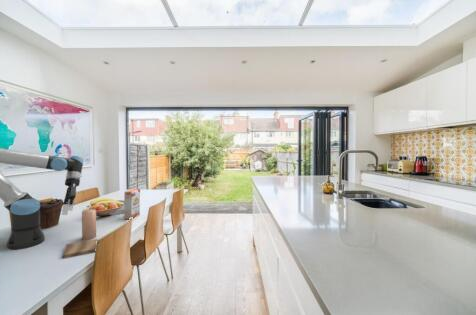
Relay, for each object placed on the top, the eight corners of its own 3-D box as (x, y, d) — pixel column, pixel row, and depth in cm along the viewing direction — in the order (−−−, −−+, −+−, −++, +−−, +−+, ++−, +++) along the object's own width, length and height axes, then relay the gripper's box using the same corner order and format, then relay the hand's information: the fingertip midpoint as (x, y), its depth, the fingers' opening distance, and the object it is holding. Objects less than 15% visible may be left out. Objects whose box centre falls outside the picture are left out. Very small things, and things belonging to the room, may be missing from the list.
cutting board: (62, 258, 108) (62, 255, 108) (66, 247, 119) (66, 244, 119) (97, 251, 115) (97, 248, 115) (97, 241, 127) (97, 239, 127)
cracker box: (131, 219, 166) (131, 191, 165) (123, 219, 166) (123, 191, 165) (140, 214, 180) (140, 188, 179) (133, 214, 180) (133, 188, 179)
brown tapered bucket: (71, 221, 159) (70, 196, 159) (44, 231, 140) (43, 203, 139) (48, 220, 161) (48, 195, 160) (19, 230, 141) (18, 202, 141)
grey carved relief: (141, 211, 186) (140, 203, 187) (106, 218, 172) (106, 209, 172) (137, 209, 199) (136, 201, 199) (104, 215, 185) (104, 206, 185)
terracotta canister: (81, 240, 128) (81, 213, 127) (82, 236, 133) (82, 210, 133) (96, 238, 131) (96, 211, 131) (96, 234, 137) (96, 208, 136)
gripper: (85, 174, 138) (79, 208, 130) (75, 185, 154) (69, 216, 146) (70, 172, 133) (63, 208, 125) (61, 184, 149) (55, 216, 141)
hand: (66, 212), depth 135 cm, fingers open, 13 cm apart
